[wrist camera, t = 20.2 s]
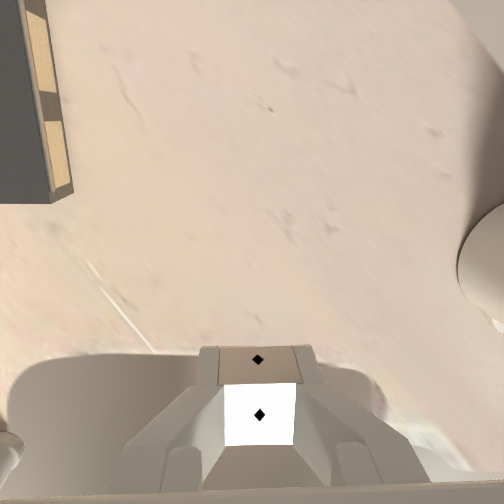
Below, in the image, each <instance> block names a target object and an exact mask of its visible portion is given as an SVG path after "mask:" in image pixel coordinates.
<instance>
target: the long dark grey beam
mask: <svg viewBox="0 0 504 504" xmlns="http://www.w3.org/2000/svg"><path fill="white" fill-rule="evenodd" d="M73 193H74V190H73V183H72V177H71V170H70V164H69V157H68V150H67V144H66V137H65V131H64V124H63V117H62V111H61V104H60V98H59V91H58V84H57V78H56V71H55V64H54V58H53V51H52V45H51V38H50V31H49V25H48V18H47V12H46V5H45V0H0V204H52V203H54V202H56V201H58V200H60V199H62V198H64V197H66V196H68V195H70V194H73Z"/></svg>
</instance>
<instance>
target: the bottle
mask: <svg viewBox="0 0 504 504" xmlns="http://www.w3.org/2000/svg"><path fill="white" fill-rule="evenodd" d="M24 448H25V447H24V443H23V441H22V440H21V439H20V438H19V437H18V436H16V435H15V434H13V433H9V432H6V431H3V432H0V489H1V487H2V485H3V484H4V482H5V480H6V479H7V477H8V475H9V473H10V472H11V470H12V469H14V468H15V467H16V466H17V465H18V463H19V461H20V460H21V458H22V455H23V451H24Z"/></svg>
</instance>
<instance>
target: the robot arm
mask: <svg viewBox="0 0 504 504" xmlns="http://www.w3.org/2000/svg"><path fill="white" fill-rule="evenodd" d="M458 279H459V283H460V287H461V289H462V291H463V293H464V294H465V296H466V297H467V298H468V300H469V301H470V302H471V303H473V304H474V305H475V306H477V307H478V308H480V309H481V310H482V311H483V312H484V313H485V314H486V317H487V319H488V321H489V323H490V325H491V326H492V327H493V328H494V329H496V330H498V331H499V332H503V333H504V203H503V204H501V205H500V206H498V207H497V208H495V209H494V210H492V211H491V212H490V213H488V214H487V215H486V216H485V217H484V218H483V219H482V220H481V221H480V222H479V223H478V224H477V225H476V226H475V227H474V229H473V230H472V231H471V233H470V234H469V236H468V238H467V239H466V241H465V243H464V245H463V248H462V250H461V253H460V257H459V262H458ZM247 444H292V446H293V447H294V448H295V449H296V450H297V452H298V453H299V454H300V455H301V457H302V458H303V459H304V460H305V461H306V463H307V464H308V465H309V466H310V468H311V469H312V470H313V471H314V472H315V474H316V475H317V476H318V477H319V479H320V480H321V481H322V482H323V484H324V485H325V486H323V487H298V488H274V489H273V488H272V489H246V490H221V491H203V481H204V480H205V478H206V477H207V475H208V473H209V472H210V470H211V469H212V467H213V466H214V464H215V463H216V461H217V459H218V458H219V456H220V455H221V453H222V452H223V450H224V448H225V446H231V445H247ZM0 504H504V480H487V481H463V482H436V483H431V481H430V479H429V477H428V475H427V474H426V472H425V470H424V468H423V466H422V464H421V463H420V461H419V459H418V457H417V455H416V454H415V452H414V450H413V448H412V446H411V444H410V443H409V441H408V439H407V438H405V437H404V436H403V435H401V434H400V433H399V432H397V431H396V430H394V429H393V428H392V427H390V426H389V425H387V424H386V423H385V422H383V421H382V420H381V419H379V418H378V417H376V416H375V415H374V414H372V413H371V412H369V411H368V410H367V409H365V408H364V407H362V406H361V405H360V404H358V403H357V402H356V401H354V400H353V399H351V398H350V397H349V396H347V395H346V394H344V393H343V392H342V391H340V390H339V389H338V388H336V387H334V386H333V385H332V384H330V383H325V382H324V380H323V377H322V374H321V371H320V369H319V366H318V363H317V360H316V357H315V354H314V352H313V349H312V346H311V345H309V344H307V345H292V346H264V347H256V346H220V347H219V346H202V347H201V348H200V354H199V361H198V369H197V376H196V383H195V386H189V387H188V388H187V389H186V390H185V391H184V392H183V393H182V394H181V395H179V396H178V397H177V398H176V399H175V400H174V401H173V402H172V403H171V404H170V405H168V406H167V407H166V408H165V409H164V410H163V411H162V412H161V413H160V414H159V415H158V416H156V417H155V418H154V419H153V420H152V421H151V422H150V423H149V424H148V425H147V426H146V427H144V428H143V429H142V430H141V431H140V432H139V433H138V434H137V435H136V436H134V438H132V439H131V440H130V441H129V442H128V443H127V444H126V445H125V446H124V447H123V448H122V451H121V454H120V457H119V460H118V463H117V466H116V469H115V472H114V475H113V478H112V481H111V484H110V487H109V490H108V493H107V495H91V496H90V495H89V496H63V497H38V498H37V497H36V498H11V499H0Z"/></svg>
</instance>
